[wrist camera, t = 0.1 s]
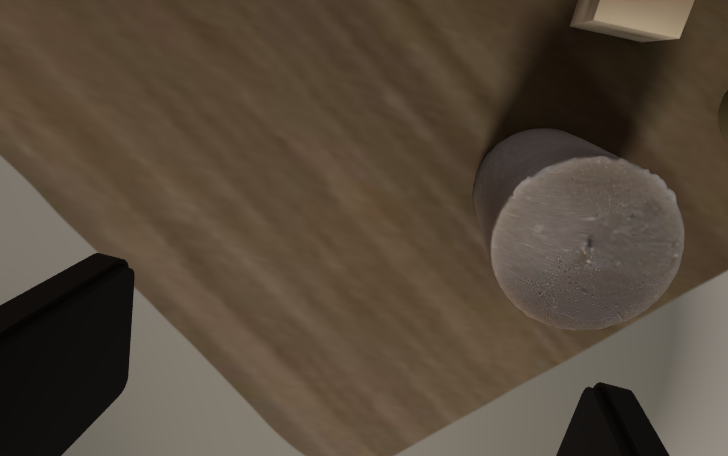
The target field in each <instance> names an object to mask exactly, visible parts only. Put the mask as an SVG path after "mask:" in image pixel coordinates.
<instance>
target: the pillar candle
mask: <svg viewBox="0 0 728 456" xmlns="http://www.w3.org/2000/svg"><path fill="white" fill-rule="evenodd" d="M472 198H473V205H474V209H475V212H476V215H477V219H478V222H479V225H480V228H481V232H482V234H483V239H484V242H485V245H486V249H487V252H488V255H489V259H490V261H491V264H492V268H493V271H494V274H495V277H496V279H497V281H498V283H499V285H500V287H501V289H502V290H503V292H504V293H505V294H506V296H507V297H508V298H509V299H510V300H511V302H512V303H513V304H514V305H515V306H516V307H517V308H518V309H520V310H521V311H522V312H523V313H524V314H525V315H527V316H528V317H531V318H533V319H535V320H537V321H540V322H542V323H544V324H547V325H550V326H552V327H557V328H561V329H568V330H576V331H577V330H593V329H603V328H606V327H610V326H612V325H616V324H620V323H623V322H626V321H628V320H630V319H632V318H634V317H635V316H637V315H639V314H640V313H642V312H643V311H645V310H646V309H648V308H649V307H650V306H651V305H652V304H654V303H655V302H656V301H657V300H658V299H659V298H660V297H661V296H662V295H663V293H664V292H665V291H666V289H667V288H668V287H669V285H670V284H671V282H672V280H673V279H674V277H675V275H676V274H677V271H678V269H679V266H680V262H681V258H682V254H683V249H684V232H685V231H684V226H683V220H682V216H681V213H680V210H679V208H678V205H677V202H676V201H677V199H676V195H675V193H674V191H672V190H671V189H669V188H667V185H666V183H665V182H664V180H662V179H661V177H659V176H658V175H656V174H651V173H650V172H649V170H648V169H643V168H641V167H640V166H637V165H635V164H633V163H630V162H628V161H627V160H625V159H622V158H620V157H618V156H616V155H614V154H612V153H610V152H607V151H606V150H604V149H602V148H600V147H598V146H596V145H594V144H592V143H590V142H587V141H585V140H583V139H581V138H579V137H577V136H574V135H572V134H570V133H567V132H565V131H562V130H558V129H551V128H543V129H530V130H526V131H522V132H519V133H516V134H514V135H511V136H510V137H508V138H506V139H505V140H503V141H501V142H500V143H498V144H497V145H496V146H495V147H494V148H493V150H492V151H491V152H489V153H488V154H487V155H486V157H485V158H484V160H483V162H482V164H481V166H480V168H479V170H478V173H477V175H476V180H475V184H474V188H473V192H472Z"/></svg>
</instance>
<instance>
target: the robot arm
mask: <svg viewBox="0 0 728 456" xmlns="http://www.w3.org/2000/svg"><path fill="white" fill-rule="evenodd" d="M133 292H134V271H133V270H132V269H131V268H129V267H128V263H127V262H126V261H125V260H124V259H120V258H116V257H112V256H108V255H104V254H100V253H96V254H93V255H91V256H89V257H88V258H86V259H84V260H82V261H80V262H79V263H77V264H75V265H73V266H71V267H69V268H68V269H66V270H64V271H62V272H60V273H58V274H57V275H55V276H53V277H51V278H50V279H48V280H46V281H44V282H42V283H40V284H38V285H37V286H35V287H33V288H31V289H30V290H28V291H26V292H24V293H22V294H20V295H19V296H17V297H15V298H13V299H11V300H9V301H8V302H6V303H4V304H2V305H0V456H61V455H62V454H63V453H64V452H65V451H66V450H67V449H68V448H69V447H70V446H71V445H72V444H73V443H74V442H75V441H76V440H77V439H78V438H79V437H80V436H81V435H82V434H83V433H84V432H85V431H86V429H87V428H88V427H89V426H90V425H91V424H92V423H93V422H94V421H95V420H96V419H97V418H98V417H99V416H100V415H101V414H102V413H103V412H104V411H105V410H106V409H107V408H108V407H109V406H110V405H111V404H112V403H113V402H114V400H115V399H117V397H118V396H119V395H120V394H121V393H122V391H123V390H124V388H125V386H126V383H127V380H128V370H129V354H130V338H131V323H132V308H133ZM556 456H669V454H668V452H667V451H666V449H665V447H664V445H663V444H662V442H661V440H660V439H659V437H658V435H657V433H656V432H655V430H654V428H653V427H652V425H651V423H650V421H649V419H648V418H647V416H646V414H645V413H644V411H643V409H642V407H641V406H640V404H639V402H638V400H637V399H636V397H635V395H634V394H633V393H632V391H631V390H628V389H624V388H620V387H617V386H613V385H609V384H605V383H601V382H599V383H597V384H596V385H595V386H594V388H591V387H587V388H585V390H584V391H583V393H582V395H581V398H580V400H579V403H578V405H577V407H576V410H575V412H574V414H573V417H572V419H571V422H570V424H569V427H568V429H567V431H566V434H565V436H564V438H563V441H562V443H561V446H560V448H559V451H558V453H557V455H556Z"/></svg>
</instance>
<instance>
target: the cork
mask: <svg viewBox="0 0 728 456" xmlns="http://www.w3.org/2000/svg"><path fill="white" fill-rule="evenodd" d="M718 124H719V127H720V130H721V132H722V135H723V137H724V138H725V139H726V140H727V141H728V91H727V93H726V94H725V95H724V97H723V100H722V102H721V105H720V108H719V122H718Z"/></svg>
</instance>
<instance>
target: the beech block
mask: <svg viewBox="0 0 728 456" xmlns="http://www.w3.org/2000/svg"><path fill="white" fill-rule="evenodd" d="M694 1H695V0H578V2H577V5H576V9H575V12H574V15H573V18H572V21H571V24H570V27H574V28H579V29H584V30H588V31H593V32H597V33H602V34H606V35H611V36H616V37H620V38H625V39H629V40H634V41H638V42H650V41H661V40H671V39H680V36H681V34H682V31H683V28H684V26H685V23H686V21H687V18H688V16H689V13H690V11H691V8H692V6H693V3H694Z"/></svg>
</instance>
